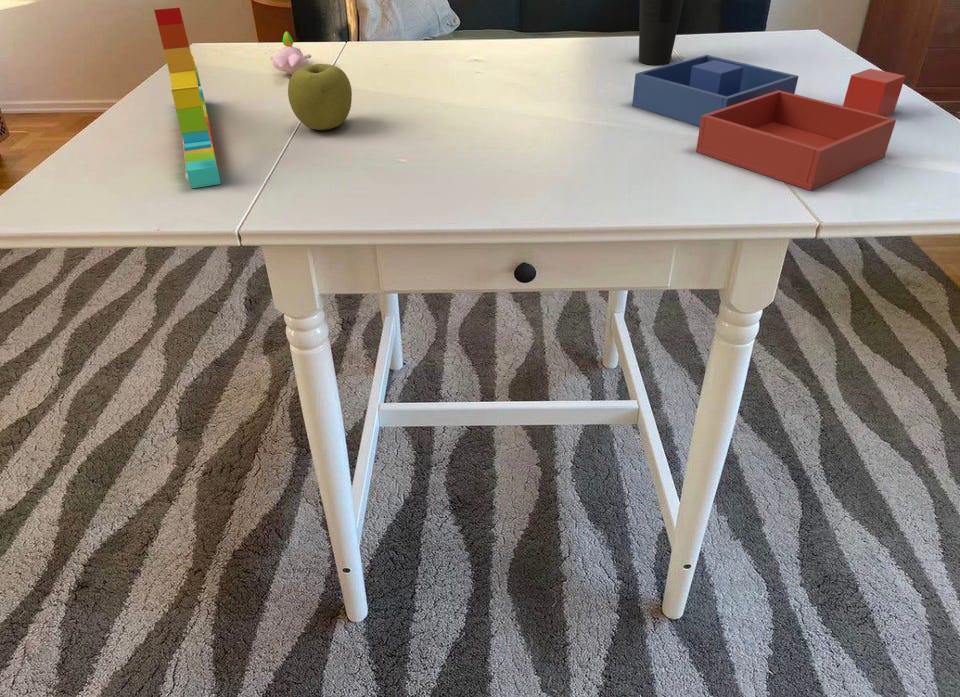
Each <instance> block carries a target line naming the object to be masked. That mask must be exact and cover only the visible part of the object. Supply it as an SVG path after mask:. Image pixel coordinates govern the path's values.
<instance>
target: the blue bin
mask: <svg viewBox="0 0 960 697" xmlns="http://www.w3.org/2000/svg"><path fill="white" fill-rule="evenodd" d="M713 60H717V61H721V62H725V63H730V64H734V65H738V66H742V67H744V69H743V74H742V80H741V85H740V90H739V93H737V94H733V95H730V96H727V97H726V96H723V95H719V94H716V93H712V92H708V91H705V90H701V89H697V88H693V87H690V86H689V84H690V77H691V71H692V66H695V65H698V64H702V63H706V62H709V61H713ZM799 77H800V76H799V75H796V74H792V73H788V72H784V71H779V70H775V69H771V68H768V67H767V68H766V67H762V66H757V65H754V64H749V63H746V62H745V63H744V62H740V61H735V60H732V59H727V58H722V57H718V56H715V55H709V54H703V55H699V56H695V57H692V58H688V59H685V60H684V59H683V60H681V61H677V62H673V63H670V64H669V63H668V64H664V65H661V66H658V67H655V68H650V69H647V70H643V71H640V72H635V76H634V84H633V93H632V102H631V106H633V107H636V108H639V109H641V110H645V111H649V112H650V113H651V112H652V113H655V114H658V115H662V116H664V117H668V118H671V119H674V120H677V121H681V122H684V123H687V124H690V125H692V126H695V127H699V128H700V122H701V116H702V115H704V114H707V113H710V112H713V111H716V110H719V109H723V108H726V107H729V106H732V105H735V104H738V103H741V102H744V101H747V100H750V99H753V98H756V97H759V96H762V95H765V94H768V93H771V92H774V91H777V90H780V91H784V92H788V93H792V94H796V89H797V85H798V81H799Z"/></svg>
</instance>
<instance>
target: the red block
mask: <svg viewBox="0 0 960 697" xmlns="http://www.w3.org/2000/svg"><path fill="white" fill-rule="evenodd" d="M905 79H906V75H903V74H898V73H894V72H889V71H884V70H879V69H876V68H875V69H874V68H868V69H865V70H862V71H859V72H856V73H853V74H851V75H850V78H849V82H848V84H847V85H848V86H847V89H846V93H845V97H844V99H843V100H844V101H843V104H842V106H844V107H848V108H852V109H856V110H860V111H864V112H868V113H872V114H876V115H880V116H884V117H888V116H889V115H893V114H895V111H896V107H897V104H898V101H899V98H900V94H901V92H902V88H903V85H904V82H905Z"/></svg>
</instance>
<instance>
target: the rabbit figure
mask: <svg viewBox="0 0 960 697" xmlns="http://www.w3.org/2000/svg"><path fill="white" fill-rule="evenodd" d="M282 44H283V46H284V47H282V48H281V49H280V50H278V52H277V53H276V56H271V57H269V58H270V60H271V61H272V65H273V67H274V68H275V69H277V70H279V71H281V72H285V73H286V74H287V75H291V76H292V74H293V73H294V72H295V71H296V70H298V69H299V68H302V67H304V66H308V59H310V58H312V55H311V54H310V53H309V54H308V53H307V54H306V55H304V54H303V52H302V51H301V48H298V47H296V46H293V45H294V41H293V37H292V36H291V35H290V32H289V31H285V32H284V33H283V37H282Z"/></svg>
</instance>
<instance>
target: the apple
mask: <svg viewBox="0 0 960 697" xmlns="http://www.w3.org/2000/svg"><path fill="white" fill-rule="evenodd" d="M352 91H353V90H352V85H351V82H350V79H349V78H348V76H347V74H346V73H345V72H344V71H343V70H342V69H341V68H340V67H338V66H336V65H333V64H327V63H313V64H307V65H306V66H304V67H302V68H299V69H298V70H296V71H295V72H294V73H293V74H292V75H291V76H290V78H289V80H288V84H287V96H288V102H289V105H290V108H291V109H292V112H293V114H294V115H295V116H296V118H297V119H298V120H299V122H301V123H302V125H304V126H305V127H307V128H309V129H312V130H316V131H327V130H328V131H329V130H331V129H334V128H337V127H338V126H340V125H341V124H343V122H345V121H346V120H347V118H348V117H349V114H350V112H351V107H352V100H353V99H352V97H353V92H352Z"/></svg>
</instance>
